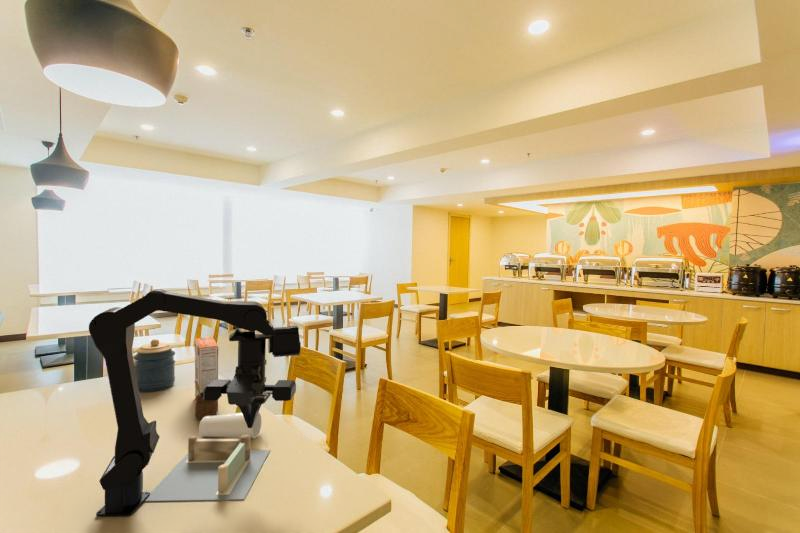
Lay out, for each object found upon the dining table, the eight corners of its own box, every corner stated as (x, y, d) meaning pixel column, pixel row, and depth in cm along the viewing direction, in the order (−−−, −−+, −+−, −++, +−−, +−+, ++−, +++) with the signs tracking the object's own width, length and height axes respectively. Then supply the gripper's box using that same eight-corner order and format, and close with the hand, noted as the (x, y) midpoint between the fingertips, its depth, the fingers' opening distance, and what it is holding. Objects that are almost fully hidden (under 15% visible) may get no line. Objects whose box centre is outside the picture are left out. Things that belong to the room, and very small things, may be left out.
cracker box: (193, 398, 127) (194, 338, 126) (213, 394, 131) (213, 336, 130) (197, 413, 116) (198, 347, 115) (218, 409, 119) (219, 345, 118)
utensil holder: (220, 415, 114) (221, 377, 114) (200, 423, 109) (201, 383, 109) (210, 410, 118) (210, 373, 117) (190, 417, 112) (190, 379, 112)
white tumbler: (197, 445, 99) (253, 443, 99) (194, 422, 98) (251, 420, 98) (210, 430, 106) (262, 428, 105) (208, 408, 104) (260, 407, 104)
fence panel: (238, 460, 89) (239, 440, 89) (246, 460, 89) (246, 440, 89) (216, 492, 77) (216, 469, 77) (225, 492, 77) (225, 469, 77)
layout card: (244, 499, 76) (244, 498, 76) (143, 501, 75) (143, 500, 75) (270, 450, 95) (270, 449, 95) (189, 451, 94) (190, 450, 94)
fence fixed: (251, 456, 92) (251, 434, 92) (248, 462, 90) (248, 439, 89) (191, 457, 91) (191, 434, 91) (186, 463, 89) (186, 439, 88)
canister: (143, 395, 128) (143, 345, 128) (126, 387, 135) (126, 339, 134) (182, 384, 139) (182, 338, 139) (164, 377, 146) (164, 333, 145)
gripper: (190, 369, 74) (189, 446, 74) (285, 370, 75) (283, 445, 75) (214, 354, 85) (213, 421, 85) (297, 355, 86) (295, 421, 86)
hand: (250, 427), depth 83 cm, fingers closed
